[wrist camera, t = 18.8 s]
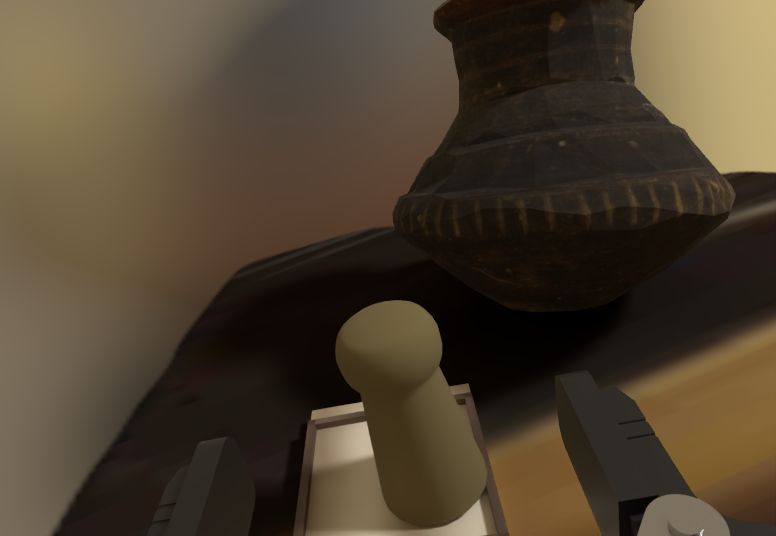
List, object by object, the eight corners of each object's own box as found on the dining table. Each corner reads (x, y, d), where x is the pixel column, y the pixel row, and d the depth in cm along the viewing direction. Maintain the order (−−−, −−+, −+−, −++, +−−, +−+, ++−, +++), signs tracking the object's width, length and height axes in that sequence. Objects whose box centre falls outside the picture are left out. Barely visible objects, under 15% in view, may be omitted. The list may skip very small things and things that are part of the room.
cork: (417, 548, 27) (350, 378, 22) (364, 475, 32) (300, 324, 28) (510, 479, 29) (466, 310, 24) (446, 421, 34) (400, 271, 30)
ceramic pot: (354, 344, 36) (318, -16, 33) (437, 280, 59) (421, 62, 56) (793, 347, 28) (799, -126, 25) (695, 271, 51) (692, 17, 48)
